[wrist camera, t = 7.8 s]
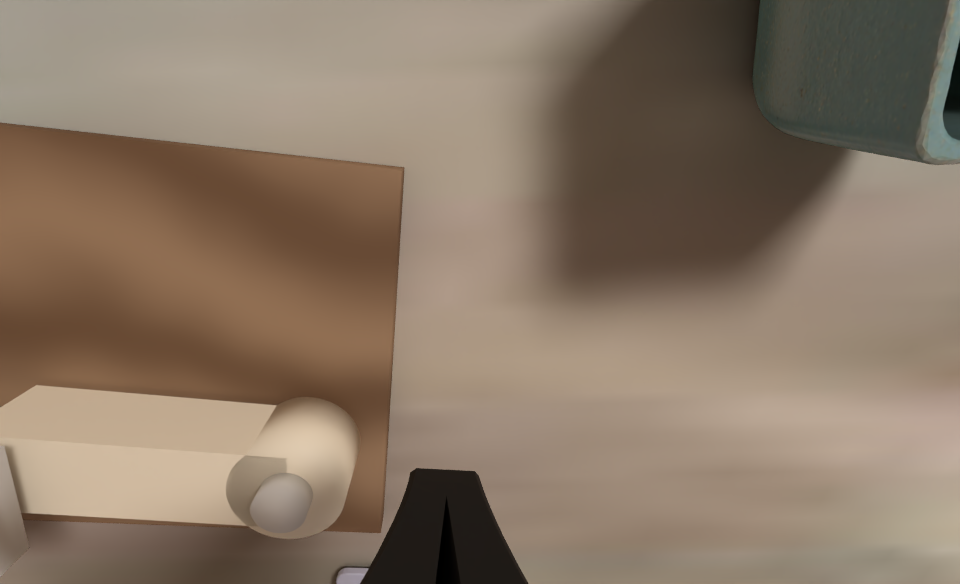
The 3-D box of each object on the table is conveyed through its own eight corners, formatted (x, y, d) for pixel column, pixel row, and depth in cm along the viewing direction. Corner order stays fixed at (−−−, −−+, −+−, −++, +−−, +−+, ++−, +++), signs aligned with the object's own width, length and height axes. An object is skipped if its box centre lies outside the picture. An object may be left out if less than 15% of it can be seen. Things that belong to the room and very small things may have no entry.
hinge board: (383, 515, 22) (360, 653, 16) (-36, 499, 21) (-228, 646, 15) (404, 167, 17) (381, 188, 11) (-152, 105, 15) (-518, 92, 10)
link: (363, 401, 19) (343, 466, 15) (357, 483, 20) (337, 561, 16) (34, 373, 18) (-73, 436, 14) (50, 462, 19) (-45, 541, 15)
